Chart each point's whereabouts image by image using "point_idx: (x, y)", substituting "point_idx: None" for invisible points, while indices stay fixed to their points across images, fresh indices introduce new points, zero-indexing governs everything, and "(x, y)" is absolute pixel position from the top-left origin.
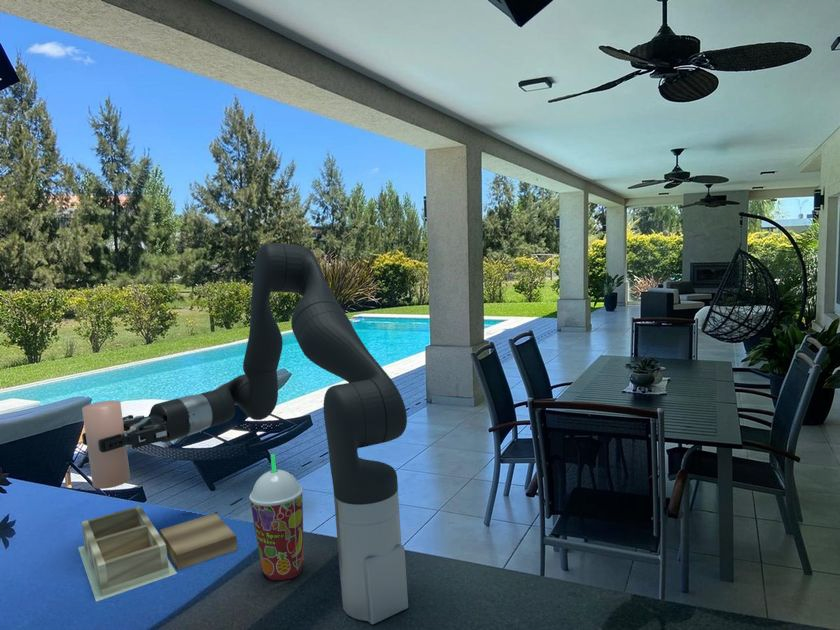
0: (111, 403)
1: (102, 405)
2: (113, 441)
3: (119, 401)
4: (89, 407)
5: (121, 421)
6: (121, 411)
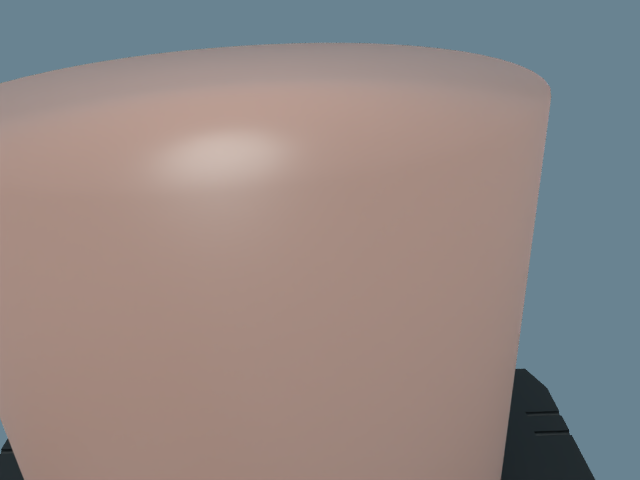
0: (161, 125)
1: (213, 86)
2: (7, 453)
3: (108, 192)
4: (305, 55)
5: (27, 478)
6: (28, 380)
